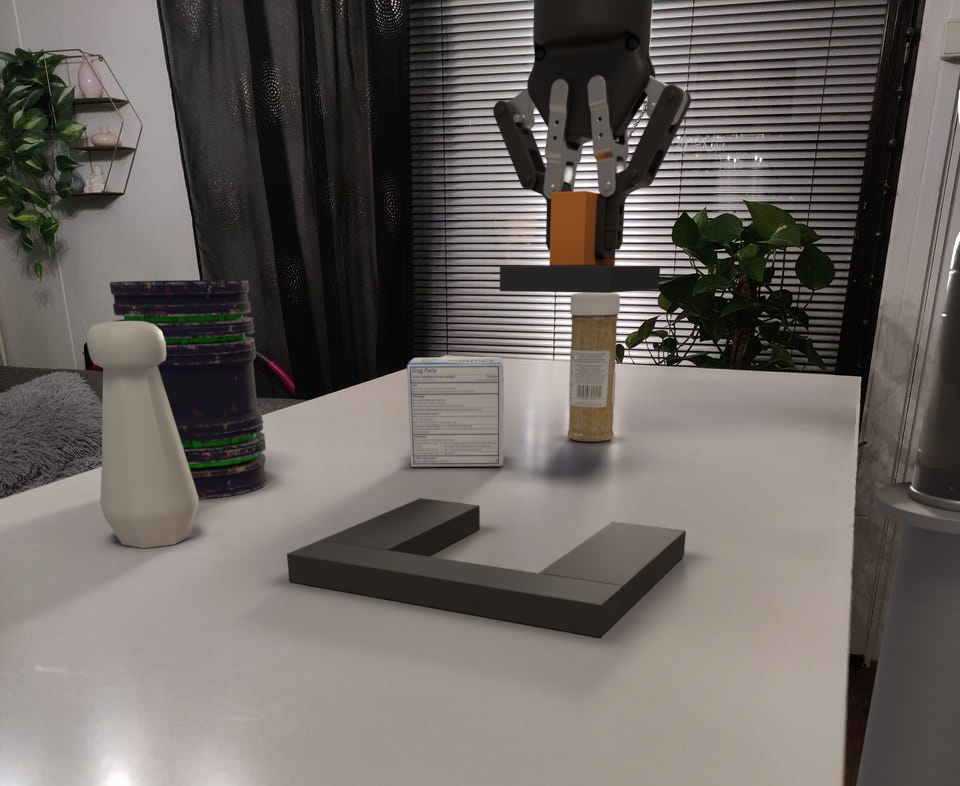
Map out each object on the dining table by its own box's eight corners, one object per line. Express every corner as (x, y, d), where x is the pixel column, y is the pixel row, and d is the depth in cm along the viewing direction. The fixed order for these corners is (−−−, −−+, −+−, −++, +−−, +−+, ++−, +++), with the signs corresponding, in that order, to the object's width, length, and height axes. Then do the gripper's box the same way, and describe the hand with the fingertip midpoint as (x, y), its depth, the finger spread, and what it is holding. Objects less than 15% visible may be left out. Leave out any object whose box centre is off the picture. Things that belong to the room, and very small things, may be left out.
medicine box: (503, 458, 80) (504, 356, 77) (503, 468, 76) (503, 361, 73) (415, 458, 81) (411, 356, 77) (410, 468, 77) (406, 362, 73)
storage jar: (291, 474, 75) (274, 279, 69) (229, 503, 66) (203, 282, 60) (185, 468, 77) (160, 280, 71) (111, 495, 68) (76, 282, 63)
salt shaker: (89, 540, 57) (49, 322, 52) (169, 521, 61) (140, 317, 56) (139, 557, 54) (102, 326, 49) (221, 536, 58) (194, 320, 53)
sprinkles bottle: (620, 437, 90) (628, 292, 85) (600, 444, 86) (607, 293, 81) (579, 433, 92) (584, 291, 87) (558, 440, 88) (562, 292, 83)
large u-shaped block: (420, 521, 61) (420, 497, 60) (684, 556, 53) (686, 530, 52) (288, 581, 49) (286, 553, 49) (600, 637, 42) (601, 605, 41)
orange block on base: (558, 288, 70) (561, 200, 67) (658, 289, 66) (665, 196, 64) (499, 291, 62) (499, 191, 59) (610, 292, 58) (615, 186, 56)
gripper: (721, -42, 56) (696, 259, 63) (521, -12, 63) (517, 259, 69) (686, -79, 50) (662, 258, 57) (468, -41, 57) (469, 259, 63)
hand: (582, 257), depth 63 cm, fingers closed on orange block on base, 2 cm apart
